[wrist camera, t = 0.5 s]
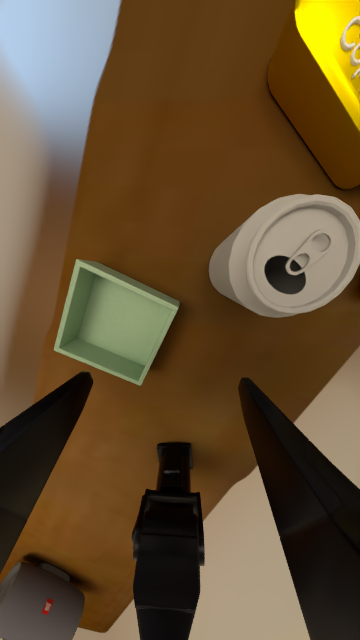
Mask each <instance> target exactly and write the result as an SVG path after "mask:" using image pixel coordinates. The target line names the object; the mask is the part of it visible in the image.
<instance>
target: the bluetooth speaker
mask: <svg viewBox="0 0 360 640" xmlns="http://www.w3.org/2000/svg"><path fill="white" fill-rule="evenodd" d="M84 602H85V597H84V594H83V593H82V592H81V591H80V590H79V589H78V588H76V587H75V586H73V585H72V584H71V583H70V576H69V575H68V574H66V573H65V572H63V571H61V570H59V569H57V568H55V567H53V566H51V565H49V564H47V563H41V564H40V565H39V566H34V565H32V564H29V563H25V562H19V563H18V564H16V565H15V566H14V567H13V568H12V569H11V571H10V572H9V573H8V574H7V576H6V577H5V579H4V580H3V582H2V583H1V584H0V638H2V639H3V640H72V639H73V637H74V635H75V632H76V630H77V627H78V625H79V622H80V620H81V617H82V613H83V609H84Z"/></svg>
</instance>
